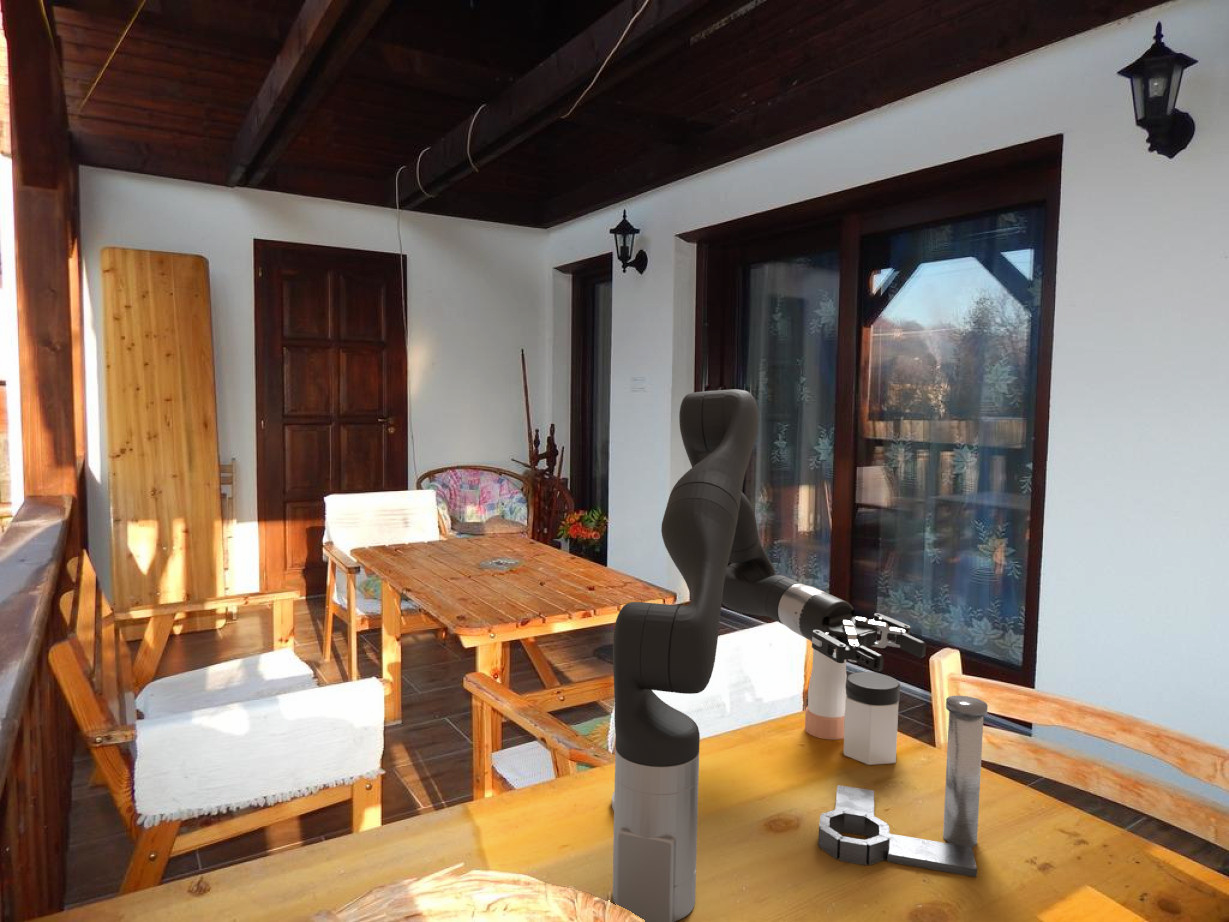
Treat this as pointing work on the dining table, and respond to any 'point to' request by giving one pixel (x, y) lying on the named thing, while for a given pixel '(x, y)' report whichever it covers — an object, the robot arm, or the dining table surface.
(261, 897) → the dining table surface
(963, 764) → the pin
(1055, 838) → the dining table surface
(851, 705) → the jar
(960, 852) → the box end wrench
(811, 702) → the pepper shaker
